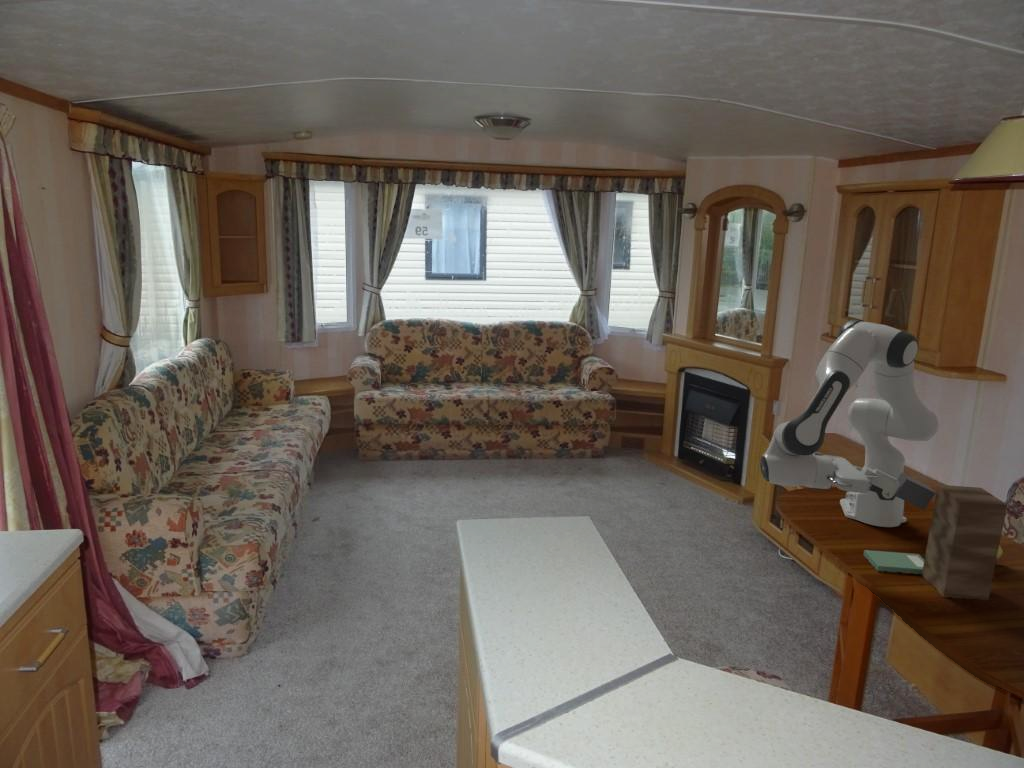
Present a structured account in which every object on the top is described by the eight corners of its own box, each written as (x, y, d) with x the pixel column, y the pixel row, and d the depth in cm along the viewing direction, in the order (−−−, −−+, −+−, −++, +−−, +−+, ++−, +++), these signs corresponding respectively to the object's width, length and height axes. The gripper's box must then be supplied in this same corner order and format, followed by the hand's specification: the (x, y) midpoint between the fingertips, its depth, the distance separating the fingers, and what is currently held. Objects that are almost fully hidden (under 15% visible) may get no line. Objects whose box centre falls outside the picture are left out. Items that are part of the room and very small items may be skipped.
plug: (857, 473, 203) (868, 456, 202) (918, 502, 201) (929, 486, 199) (862, 479, 198) (873, 462, 196) (924, 510, 196) (935, 493, 194)
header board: (863, 554, 210) (864, 550, 210) (917, 558, 209) (918, 554, 209) (877, 570, 200) (878, 565, 200) (934, 575, 199) (935, 570, 199)
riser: (921, 575, 199) (937, 484, 193) (963, 578, 198) (981, 487, 192) (943, 597, 187) (961, 501, 182) (988, 600, 186) (1007, 504, 181)
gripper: (836, 473, 190) (891, 477, 189) (812, 450, 210) (861, 453, 209) (833, 496, 191) (888, 500, 190) (809, 471, 211) (858, 474, 210)
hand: (874, 475), depth 200 cm, fingers closed on plug, 4 cm apart
